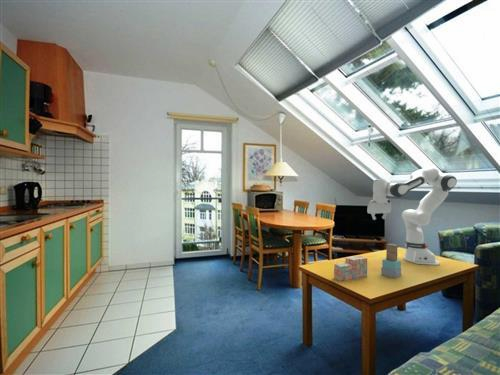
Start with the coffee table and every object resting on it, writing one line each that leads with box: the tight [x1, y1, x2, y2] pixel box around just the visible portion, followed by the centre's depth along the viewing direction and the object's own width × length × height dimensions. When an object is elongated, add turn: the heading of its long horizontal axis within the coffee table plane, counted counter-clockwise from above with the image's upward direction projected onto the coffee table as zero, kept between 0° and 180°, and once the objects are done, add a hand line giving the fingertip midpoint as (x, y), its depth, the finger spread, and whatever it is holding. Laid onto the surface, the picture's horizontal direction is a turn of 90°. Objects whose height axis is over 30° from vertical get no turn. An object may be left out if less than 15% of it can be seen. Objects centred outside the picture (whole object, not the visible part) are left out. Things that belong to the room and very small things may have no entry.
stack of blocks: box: [333, 255, 368, 282], centre depth 160 cm, size 21×6×12 cm, turn 112°
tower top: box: [381, 257, 402, 270], centre depth 165 cm, size 8×8×5 cm
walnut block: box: [385, 243, 399, 261], centre depth 164 cm, size 5×5×10 cm
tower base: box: [380, 266, 402, 279], centre depth 165 cm, size 9×9×5 cm
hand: (379, 219), depth 186 cm, fingers open, 8 cm apart
